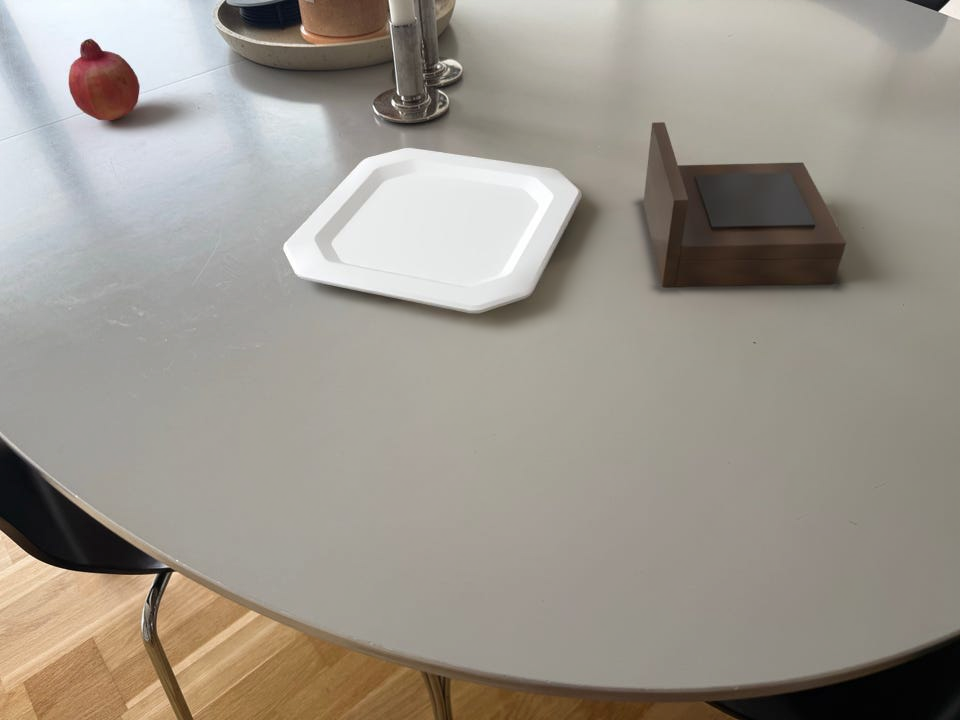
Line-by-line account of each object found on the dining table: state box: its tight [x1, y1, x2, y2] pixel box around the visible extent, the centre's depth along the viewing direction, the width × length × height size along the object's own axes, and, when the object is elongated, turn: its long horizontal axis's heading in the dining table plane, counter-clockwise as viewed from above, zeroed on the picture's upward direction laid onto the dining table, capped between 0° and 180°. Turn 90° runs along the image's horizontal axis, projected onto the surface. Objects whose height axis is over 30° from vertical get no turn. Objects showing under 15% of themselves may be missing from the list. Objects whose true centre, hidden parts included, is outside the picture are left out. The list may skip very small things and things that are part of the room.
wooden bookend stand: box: [642, 121, 847, 288], centre depth 75 cm, size 15×14×9 cm
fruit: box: [68, 38, 141, 121], centre depth 100 cm, size 8×8×10 cm
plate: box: [283, 147, 583, 314], centre depth 80 cm, size 25×25×2 cm
